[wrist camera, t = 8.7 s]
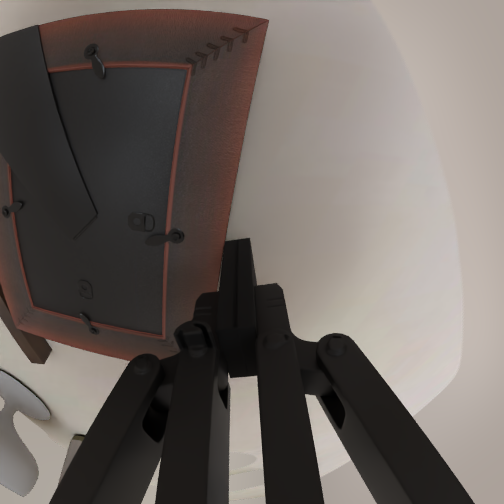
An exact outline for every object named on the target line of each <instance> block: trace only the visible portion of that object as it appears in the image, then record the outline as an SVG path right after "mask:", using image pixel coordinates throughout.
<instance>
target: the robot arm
mask: <svg viewBox="0 0 504 504" xmlns="http://www.w3.org/2000/svg"><path fill="white" fill-rule="evenodd" d="M173 335H174V337H175V340H176V342H177V344H178V347H179V349H180V352H179V353H177V354H176V355H173V356H170V357H167V358H164V359H161V360H159V358H158V357H157V356H156V355H153V354H151V353H144V354H141V355H138V356H136V357H135V358H133V359H132V360H131V361H130V362H129V364H128V365H127V367H126V369H125V370H124V372H123V373H122V375H121V377H120V378H119V380H118V382H117V383H116V385H115V386H114V388H113V390H112V391H111V393H110V395H109V396H108V398H107V400H106V401H105V403H104V405H103V406H102V408H101V410H100V412H99V413H98V415H97V417H96V418H95V420H94V422H93V424H92V425H91V427H90V429H89V430H88V432H87V434H86V436H85V437H84V439H83V441H82V443H81V445H80V446H79V448H78V450H77V452H76V454H75V455H74V457H73V459H72V461H71V463H70V464H69V466H68V468H67V470H66V472H65V474H64V476H63V478H62V479H61V481H60V483H59V485H58V487H57V489H56V491H55V493H54V495H53V497H52V499H51V501H50V503H49V504H141V502H142V500H143V498H144V496H145V493H146V491H147V489H148V486H149V484H150V482H151V479H152V477H153V475H154V472H155V470H156V468H157V465H158V463H159V461H160V458H161V462H160V470H159V477H158V484H157V492H156V501H155V504H229V430H230V386H229V382H228V372H229V375H230V378H237V377H248V376H257V379H258V394H259V409H260V424H261V439H262V454H263V468H264V483H265V497H266V504H324V499H323V493H322V487H321V481H320V475H319V469H318V463H317V457H316V452H315V446H314V441H313V435H312V430H311V424H310V419H309V413H308V408H307V403H306V398H305V394H308V395H316V397H317V399H318V401H319V403H320V405H321V406H322V408H323V410H324V412H325V414H326V415H327V417H328V419H329V421H330V422H331V424H332V426H333V428H334V430H335V431H336V433H337V435H338V437H339V438H340V440H341V442H342V444H343V445H344V447H345V449H346V451H347V452H348V454H349V456H350V458H351V460H352V461H353V463H354V465H355V466H356V468H357V470H358V472H359V473H360V475H361V477H362V479H363V480H364V482H365V484H366V486H367V487H368V489H369V491H370V492H371V494H372V496H373V498H374V499H375V501H376V503H377V504H475V503H474V502H473V500H472V499H471V498H470V496H469V495H468V493H467V492H466V490H465V489H464V488H463V486H462V485H461V483H460V482H459V481H458V479H457V478H456V476H455V475H454V473H453V472H452V471H451V469H450V468H449V466H448V465H447V464H446V462H445V461H444V459H443V458H442V457H441V455H440V454H439V452H438V451H437V450H436V448H435V447H434V446H433V444H432V443H431V442H430V440H429V439H428V437H427V436H426V435H425V433H424V432H423V431H422V429H421V428H420V427H419V425H418V424H417V423H416V421H415V420H414V419H413V417H412V416H411V415H410V413H409V412H408V411H407V409H406V408H405V407H404V405H403V404H402V403H401V401H400V400H399V399H398V397H397V396H396V395H395V393H394V392H393V391H392V390H391V388H390V387H389V386H388V384H387V383H386V382H385V380H384V379H383V378H382V377H381V375H380V374H379V373H378V371H377V370H376V369H375V367H374V366H373V365H372V364H371V362H370V361H369V360H368V358H367V357H366V356H365V355H364V353H363V352H362V351H361V350H360V348H359V347H358V346H357V344H356V343H355V342H354V341H353V340H352V339H351V338H350V337H349V336H347V335H344V334H339V333H333V334H328V335H326V336H324V337H322V338H321V339H320V340H319V341H318V342H310V341H304V340H301V339H299V338H297V337H296V336H295V335H294V334H293V333H292V331H291V329H290V324H289V319H288V314H287V309H286V304H285V299H284V294H283V289H282V288H281V287H280V286H279V285H278V284H277V283H273V284H266V285H258V286H257V282H256V275H255V268H254V262H253V255H252V249H251V242H250V238H245V239H238V240H231V241H225V244H224V251H223V259H222V268H221V278H220V287H219V291H216V292H208V293H202V294H201V295H200V296H199V297H198V299H197V300H196V303H195V308H194V313H193V318H192V320H191V321H187V322H185V323H183V324H181V325H180V326H179V327H177V328H176V330H175V332H174V334H173Z"/></svg>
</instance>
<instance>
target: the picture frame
mask: <svg viewBox="0 0 504 504" xmlns="http://www.w3.org/2000/svg"><path fill="white" fill-rule="evenodd" d="M268 23H269V20H267V19H262V18H257V17H251V16H245V15H238V14H231V13H222V12H213V11H200V10H182V9H145V10H127V11H115V12H106V13H98V14H91V15H84V16H78V17H73V18H68V19H63V20H58V21H54V22H50V23H46V24H42V25H35V26H32V27H28V28H25V29H22V30H19V31H16V32H13V33H10V34H7V35H4V36H2V37H0V283H1V286H2V289H3V293H4V296H5V299H6V302H7V305H8V308H9V310H10V313H11V316H12V319H13V321H14V324H15V326H16V328H17V329H20V330H23V331H25V332H28V333H31V334H34V335H37V336H40V337H43V338H46V339H49V340H52V341H55V342H58V343H62V344H65V345H69V346H72V347H75V348H79V349H83V350H86V351H90V352H94V353H98V354H102V355H106V356H110V357H115V358H119V359H124V360H128V361H131V360H132V359H133V358H135V357H136V356H138V355H141V354H144V353H151V354H153V355H156V356H157V357H158V358H159V360H161V359H164V358H167V357H170V356H173V355H176V354H177V353H179V352H180V349H179V347H178V344H177V342H176V340H175V337H174V335H173V334H174V332H175V330H176V328H177V327H179V326H180V325H181V324H183V323H185V322H187V321H191V320H192V318H193V313H194V308H195V303H196V300H197V299H198V297H199V296H200V295H201V294H202V293H208V292H216V291H217V287H218V281H219V275H220V268H221V262H222V256H223V250H224V244H225V238H226V232H227V226H228V221H229V215H230V209H231V204H232V198H233V192H234V187H235V181H236V176H237V171H238V165H239V160H240V155H241V150H242V144H243V139H244V134H245V129H246V124H247V119H248V114H249V109H250V104H251V100H252V95H253V90H254V85H255V81H256V76H257V71H258V67H259V62H260V58H261V53H262V49H263V44H264V40H265V36H266V31H267V27H268Z"/></svg>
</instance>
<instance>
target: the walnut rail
mask: <svg viewBox="0 0 504 504" xmlns="http://www.w3.org/2000/svg"><path fill="white" fill-rule="evenodd" d="M0 317H1V319H2V320H3V322H4V324H5V325H6V327H7V328H8V330H9V332H10V333H11V335H12V336H13V338H14V339H15V341H16V342H17V344H18V345H19V346H20V348H21V349H22V351H23V352H24V353H25V355H26V356H27V358H28V359H29V360H30V362H31V363H37V364H45V362H46V360H47V358H48V356H49V354H50V352H51V350H52V349H51V348H50V346H49V345H48V343H47V342H46V340H45V339H44V338H43V337H40V336H37V335H34V334H31V333H28V332H25V331H23V330H20V329H17V328H16V326H15V324H14V321H13V319H12V316H11V313H10V310H9V308H8V305H7V302H6V299H5V296H4V293H3V289H2V286H1V283H0Z"/></svg>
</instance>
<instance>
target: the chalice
mask: <svg viewBox="0 0 504 504" xmlns="http://www.w3.org/2000/svg"><path fill="white" fill-rule="evenodd" d="M0 396H1V397H2V398H3V399H4V400H5V405H4V408H3V409H2V411H0V484H2V485H3V486H5V487H6V488H8V489H10V490H11V491H13V492H15V493H17V494H19V495H20V496H22V497H24V496H26V495H27V494H28V493H29V492H30V491H31V490H32V489H33V487H34V485H35V483H36V481H37V479H38V475H39V471H38V466H37V463H36V460H35V458H34V457H33V455H32V454H31V452H30V451H29V450H28V448H27V447H26V446H25V444H24V443H23V442H22V440H21V439H20V437H19V435H18V434H17V432H16V430H15V427H14V423H13V415H14V413H15V412H16V411H18V410H19V411H20V412H22V413H24V414H26V415H28V416H30V417H32V418H35V419H38V420H48V419H49V418H50V413H49V411H48V409H47V408H46V407H45V405H44V404H43V403H42V402H41V401H40V400H39V399H38V398H37V397H36V396H35V395H34V394H33V393H32V392H30V391H29V390H28V389H27V388H26V387H24V386H23V385H22V384H20V383H19V382H18V381H16V380H15V379H13V378H12V377H11V376H9V375H7V374H6V373H4V372H2V371H0Z"/></svg>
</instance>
